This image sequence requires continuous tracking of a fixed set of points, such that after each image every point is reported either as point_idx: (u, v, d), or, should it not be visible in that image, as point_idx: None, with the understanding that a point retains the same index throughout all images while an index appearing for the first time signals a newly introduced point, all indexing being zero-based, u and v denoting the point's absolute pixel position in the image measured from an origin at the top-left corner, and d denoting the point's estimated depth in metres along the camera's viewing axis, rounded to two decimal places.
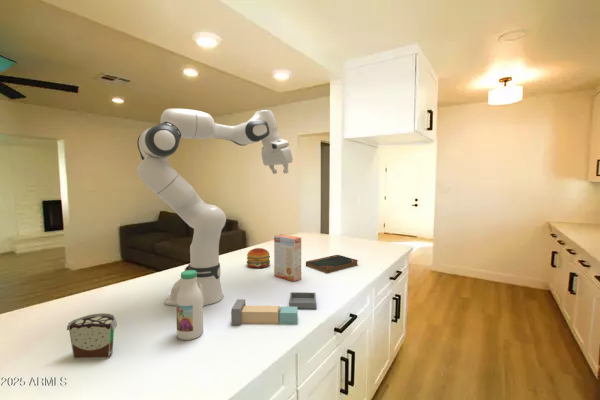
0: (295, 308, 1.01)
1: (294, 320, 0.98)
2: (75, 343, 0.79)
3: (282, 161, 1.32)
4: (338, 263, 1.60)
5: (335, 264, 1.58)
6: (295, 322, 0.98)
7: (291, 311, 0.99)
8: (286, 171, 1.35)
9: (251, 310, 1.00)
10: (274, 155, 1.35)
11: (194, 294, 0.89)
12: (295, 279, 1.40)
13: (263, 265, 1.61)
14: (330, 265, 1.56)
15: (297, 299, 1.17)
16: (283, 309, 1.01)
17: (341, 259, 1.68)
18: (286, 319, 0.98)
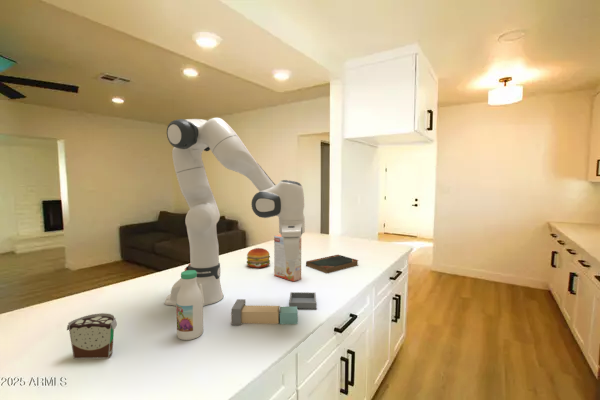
0: (295, 308, 1.02)
1: (294, 320, 0.98)
2: (75, 343, 0.79)
3: None
4: (338, 263, 1.60)
5: (335, 264, 1.58)
6: (295, 322, 0.98)
7: (291, 311, 0.99)
8: (291, 269, 0.96)
9: (251, 310, 1.00)
10: None
11: (194, 294, 0.89)
12: (295, 279, 1.40)
13: (263, 265, 1.61)
14: (330, 265, 1.56)
15: (297, 299, 1.17)
16: (283, 309, 1.00)
17: (341, 259, 1.69)
18: (287, 319, 0.98)
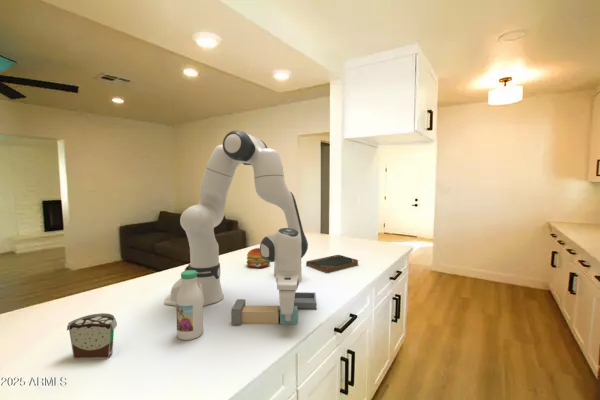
0: (295, 307, 1.02)
1: (295, 319, 0.98)
2: (75, 343, 0.79)
3: None
4: (338, 263, 1.61)
5: (335, 264, 1.59)
6: (296, 321, 0.99)
7: None
8: (287, 318, 0.97)
9: (251, 310, 1.00)
10: None
11: (194, 294, 0.89)
12: None
13: (263, 265, 1.61)
14: (330, 265, 1.57)
15: (297, 299, 1.17)
16: None
17: (341, 259, 1.69)
18: None
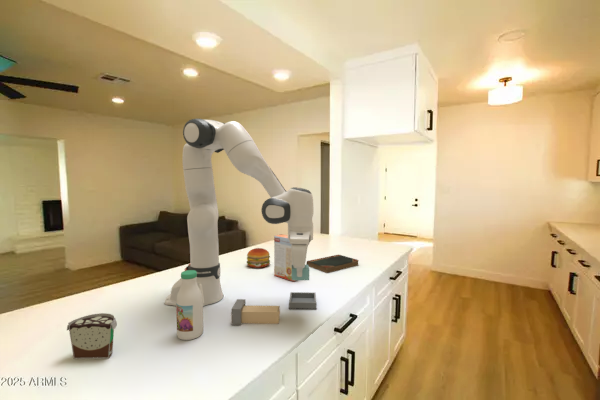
0: (306, 266, 1.03)
1: (306, 276, 1.00)
2: (75, 343, 0.79)
3: None
4: (339, 263, 1.61)
5: (335, 264, 1.59)
6: (307, 278, 1.00)
7: None
8: (299, 274, 0.98)
9: (251, 310, 1.00)
10: None
11: (194, 294, 0.89)
12: None
13: (263, 265, 1.61)
14: (330, 265, 1.57)
15: (297, 299, 1.17)
16: None
17: (342, 259, 1.69)
18: None
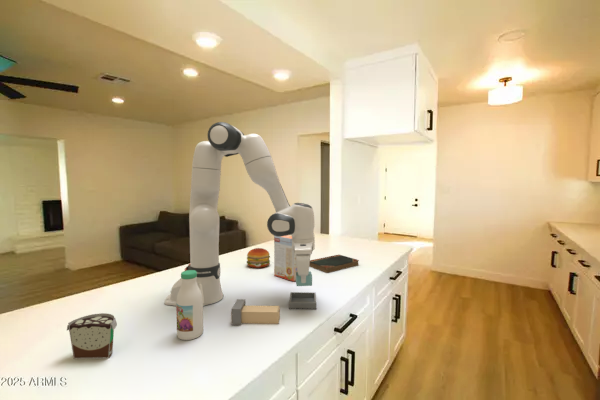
0: (309, 272, 1.15)
1: (309, 282, 1.12)
2: (75, 343, 0.79)
3: None
4: (339, 263, 1.61)
5: (335, 264, 1.59)
6: (310, 284, 1.12)
7: None
8: (303, 280, 1.10)
9: (251, 310, 1.00)
10: None
11: (194, 294, 0.89)
12: (295, 279, 1.40)
13: (263, 265, 1.61)
14: (330, 265, 1.57)
15: (297, 299, 1.17)
16: None
17: (342, 259, 1.69)
18: None
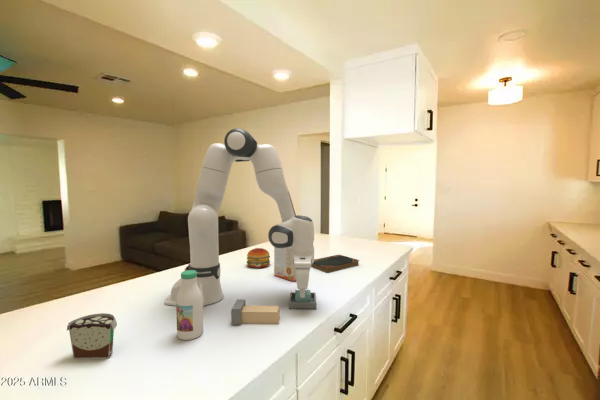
0: (308, 291, 1.15)
1: (308, 301, 1.12)
2: (75, 343, 0.79)
3: None
4: (339, 263, 1.61)
5: (336, 264, 1.59)
6: None
7: (305, 293, 1.13)
8: (302, 295, 1.09)
9: (251, 310, 1.00)
10: None
11: (194, 294, 0.89)
12: (295, 279, 1.40)
13: (263, 265, 1.61)
14: (330, 265, 1.57)
15: None
16: (298, 292, 1.14)
17: (342, 259, 1.69)
18: (301, 300, 1.12)
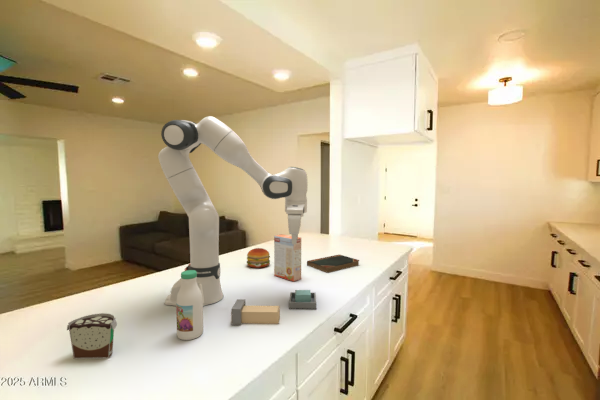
0: (308, 291, 1.15)
1: (308, 301, 1.12)
2: (75, 343, 0.79)
3: None
4: (339, 263, 1.61)
5: (336, 264, 1.59)
6: None
7: (305, 293, 1.13)
8: (293, 242, 1.13)
9: (251, 310, 1.00)
10: None
11: (194, 294, 0.89)
12: (295, 279, 1.40)
13: (263, 265, 1.61)
14: (331, 265, 1.57)
15: None
16: (298, 292, 1.14)
17: (342, 259, 1.69)
18: (301, 300, 1.12)
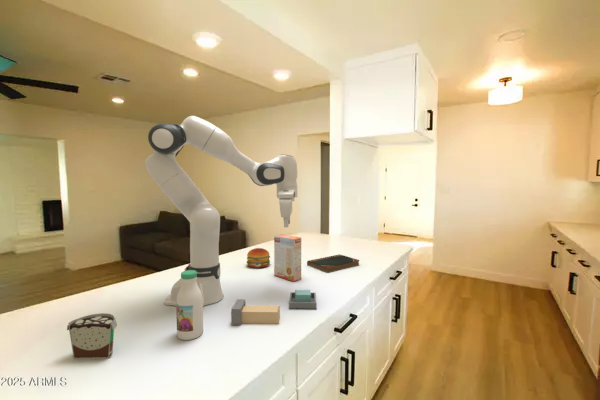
0: (308, 291, 1.15)
1: (308, 301, 1.12)
2: (75, 343, 0.79)
3: None
4: (339, 263, 1.61)
5: (336, 264, 1.59)
6: None
7: (305, 293, 1.13)
8: (285, 225, 1.19)
9: (251, 310, 1.00)
10: None
11: (194, 294, 0.89)
12: (295, 279, 1.40)
13: (263, 265, 1.61)
14: (331, 265, 1.57)
15: None
16: (298, 292, 1.14)
17: (342, 259, 1.69)
18: (301, 300, 1.12)
